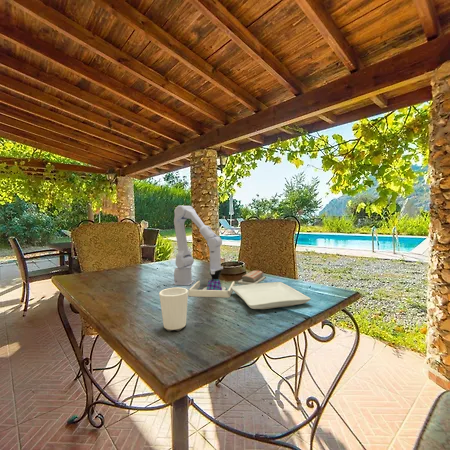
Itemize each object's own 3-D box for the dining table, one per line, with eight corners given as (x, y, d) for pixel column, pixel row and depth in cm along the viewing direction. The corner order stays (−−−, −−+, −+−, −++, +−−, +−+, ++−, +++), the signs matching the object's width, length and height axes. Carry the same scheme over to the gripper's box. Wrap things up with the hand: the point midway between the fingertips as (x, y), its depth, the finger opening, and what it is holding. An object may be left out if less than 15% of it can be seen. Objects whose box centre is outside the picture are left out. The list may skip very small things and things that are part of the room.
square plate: (249, 314, 99) (249, 304, 99) (230, 293, 125) (229, 285, 125) (311, 306, 106) (311, 297, 106) (280, 288, 132) (280, 280, 132)
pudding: (230, 288, 135) (230, 278, 135) (217, 295, 125) (217, 284, 124) (211, 285, 141) (211, 276, 141) (197, 292, 131) (197, 281, 131)
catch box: (188, 296, 123) (188, 290, 123) (198, 286, 140) (198, 280, 140) (229, 297, 120) (229, 291, 120) (234, 287, 137) (234, 281, 136)
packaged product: (250, 269, 159) (265, 270, 154) (250, 276, 159) (266, 278, 154) (237, 275, 143) (254, 277, 138) (237, 284, 143) (254, 286, 139)
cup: (188, 333, 85) (187, 295, 85) (158, 335, 85) (156, 296, 84) (190, 320, 95) (188, 286, 95) (162, 322, 94) (161, 287, 94)
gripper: (219, 261, 129) (220, 288, 130) (225, 256, 143) (225, 281, 144) (206, 261, 130) (207, 288, 131) (212, 256, 144) (213, 280, 145)
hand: (215, 284), depth 137 cm, fingers closed
